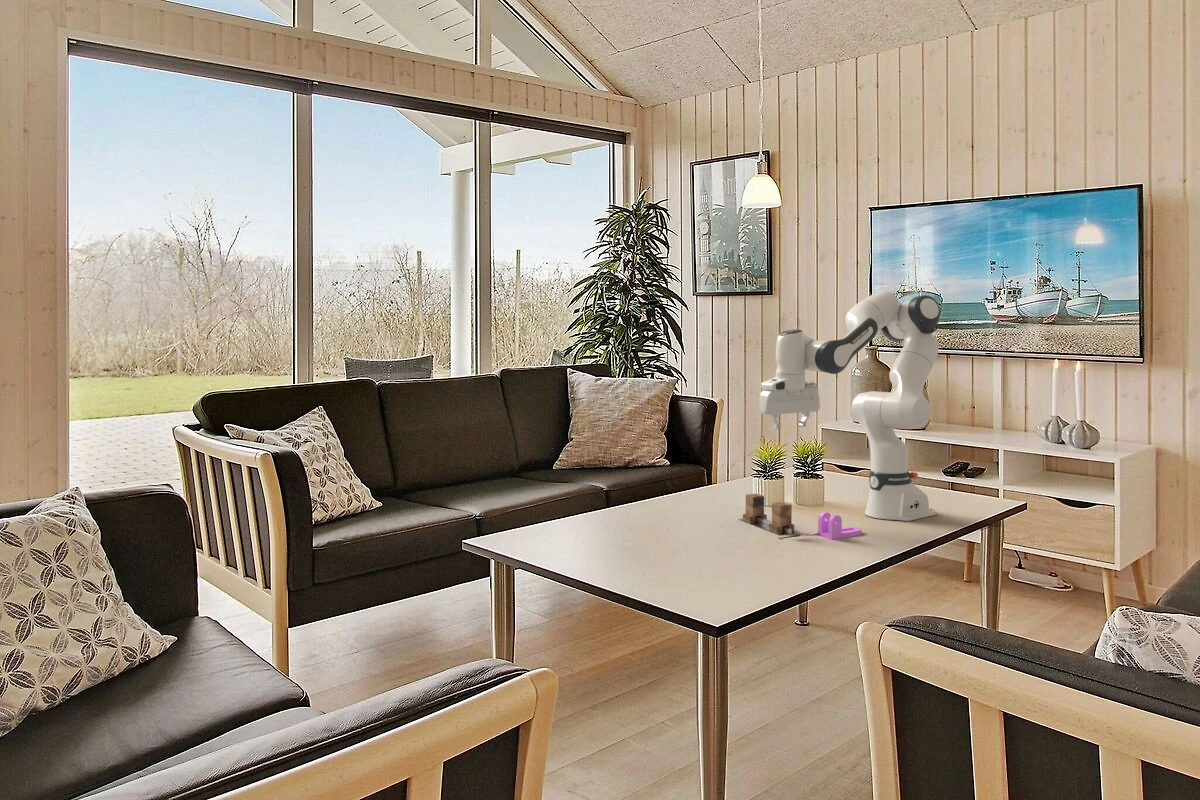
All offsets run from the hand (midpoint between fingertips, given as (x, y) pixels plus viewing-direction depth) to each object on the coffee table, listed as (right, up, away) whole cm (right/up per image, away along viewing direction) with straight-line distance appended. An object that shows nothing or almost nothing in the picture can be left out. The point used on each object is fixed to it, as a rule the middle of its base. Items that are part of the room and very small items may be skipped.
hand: (789, 427), depth 273 cm
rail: (-8, -30, -7) cm, 32 cm away
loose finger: (-5, -30, -14) cm, 33 cm away
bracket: (+12, -31, -15) cm, 36 cm away
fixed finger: (-11, -29, -1) cm, 31 cm away
